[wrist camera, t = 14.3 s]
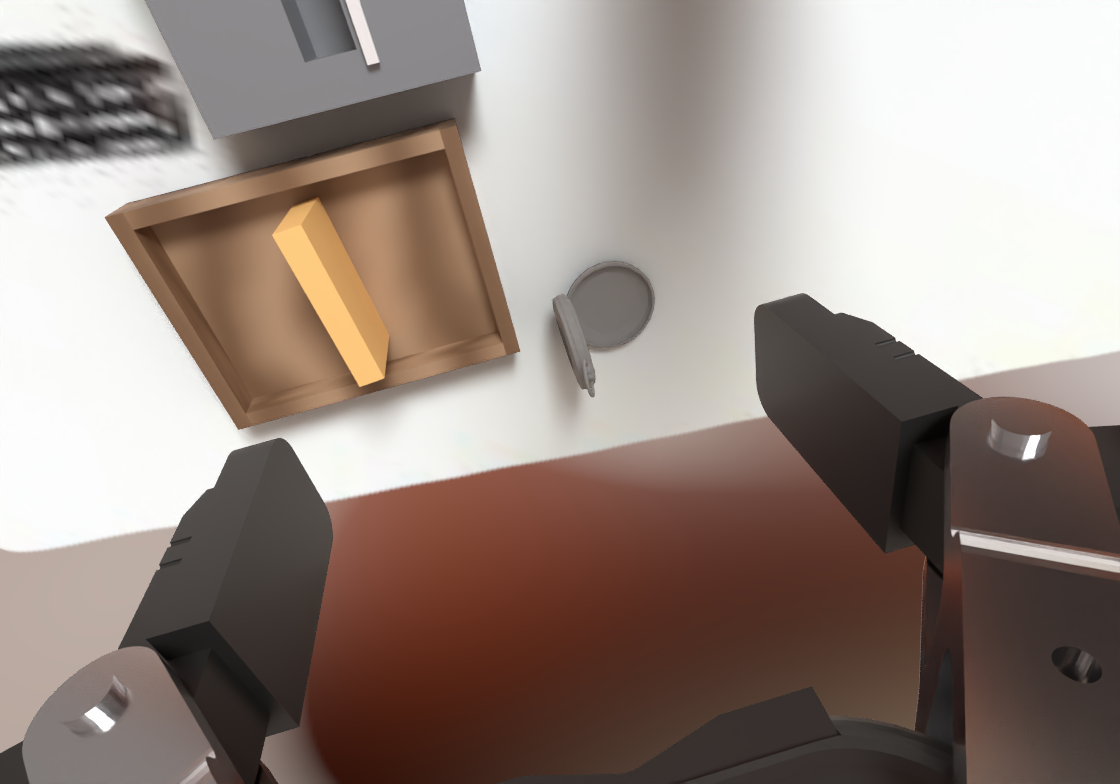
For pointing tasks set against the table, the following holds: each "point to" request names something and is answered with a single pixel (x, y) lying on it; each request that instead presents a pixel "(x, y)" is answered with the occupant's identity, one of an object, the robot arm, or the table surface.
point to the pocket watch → (602, 313)
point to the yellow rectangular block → (334, 289)
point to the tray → (277, 296)
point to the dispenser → (309, 53)
